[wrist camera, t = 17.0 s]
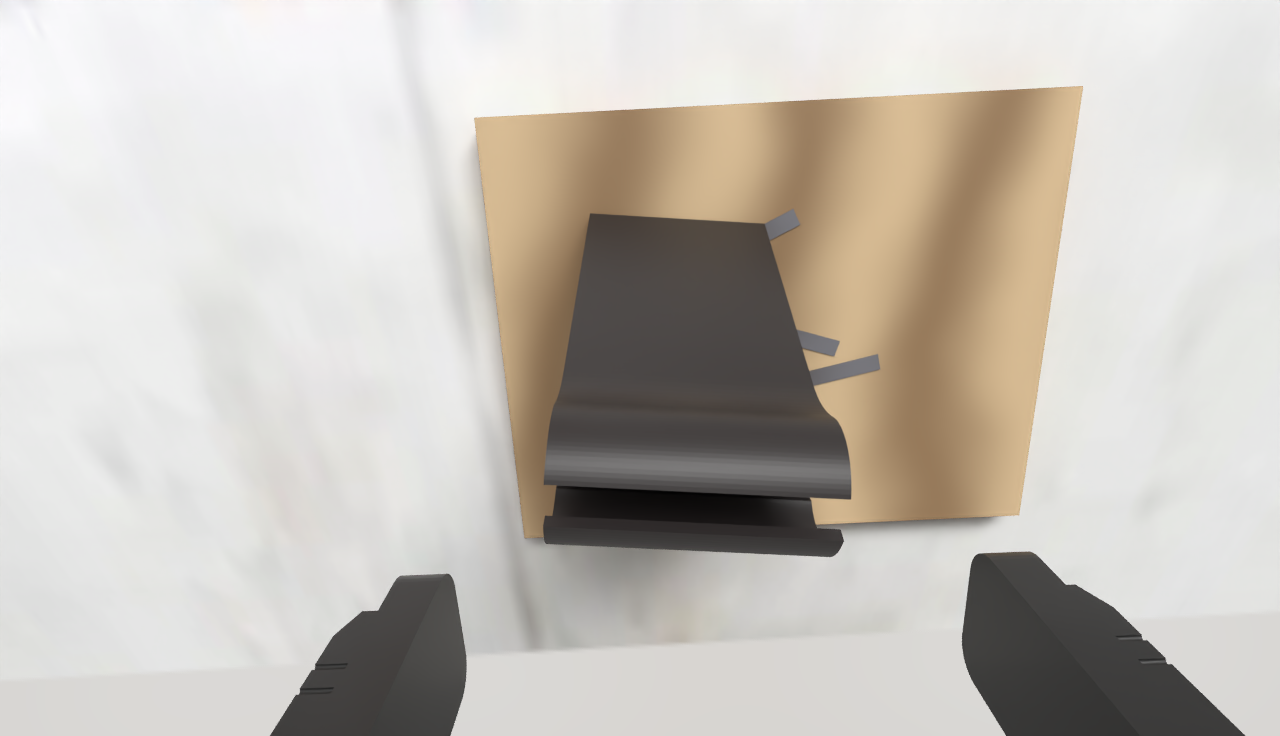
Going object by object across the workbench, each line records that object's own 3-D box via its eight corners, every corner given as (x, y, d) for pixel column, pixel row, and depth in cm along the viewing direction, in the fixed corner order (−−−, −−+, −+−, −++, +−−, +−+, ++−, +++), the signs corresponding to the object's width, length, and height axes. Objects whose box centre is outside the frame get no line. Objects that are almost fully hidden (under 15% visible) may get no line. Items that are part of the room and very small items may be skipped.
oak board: (1060, 89, 23) (1084, 85, 22) (1003, 500, 28) (1019, 516, 27) (482, 119, 23) (473, 118, 22) (529, 522, 28) (524, 538, 27)
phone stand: (735, 457, 26) (815, 702, 14) (581, 448, 26) (537, 690, 14) (764, 222, 23) (891, 295, 12) (590, 210, 23) (546, 273, 11)
